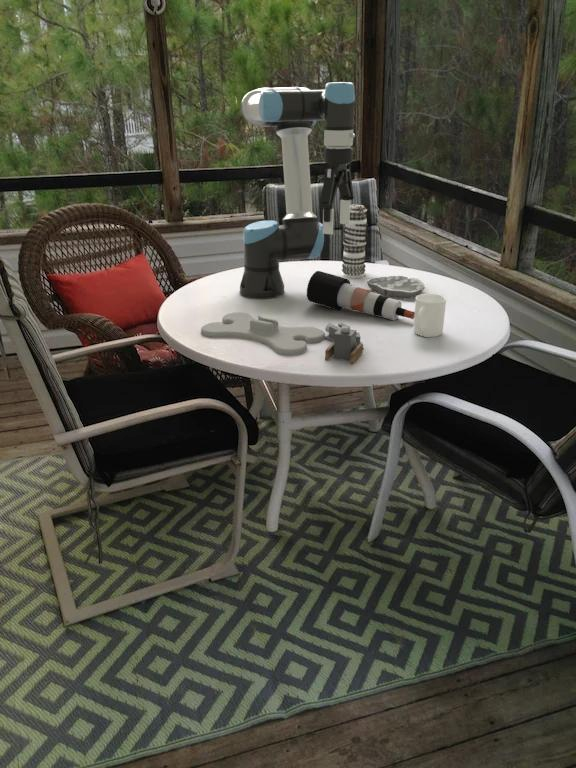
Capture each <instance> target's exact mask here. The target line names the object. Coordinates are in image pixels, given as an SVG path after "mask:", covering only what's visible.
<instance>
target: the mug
mask: <svg viewBox="0 0 576 768" xmlns="http://www.w3.org/2000/svg"><path fill="white" fill-rule="evenodd" d="M446 302H447V298H446V297H445V296H443V295H440V294H437V293H422V294H421V293H420V294H419V295H416V296H415V306H414V312H415V315H414V318H413V332H414V334H416V335H417V334H418V335H417V336H419V335H420V336H421V337H423V336H424V337H426V338H436V337H439V336H441V335H442V334H443V331H444V323H445V313H446ZM420 336H419V337H420Z"/></svg>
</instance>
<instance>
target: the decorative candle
mask: <svg viewBox="0 0 576 768" xmlns="http://www.w3.org/2000/svg"><path fill="white" fill-rule="evenodd" d="M367 211H368V209H367V208H366V207H365V205H362V204H358V203H357V204H350V224H341V225H342V230H341V231H342V232H343V234H342V244H343V247H344V248H343V255H342V257H341V258H342V264H341V267H342V268H341V274H342V277H343V278H351V279H357V278H358V279H359V278H363V277H365V276H366V273H365V272H366V262H367V261H366V258H367V257H366V250H365V249H366V245H367V241H368V240H367V239H366V237H368V234H367V232H368V231H369V230H368V229H367V227H368V226H369V224H368V220H367Z"/></svg>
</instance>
